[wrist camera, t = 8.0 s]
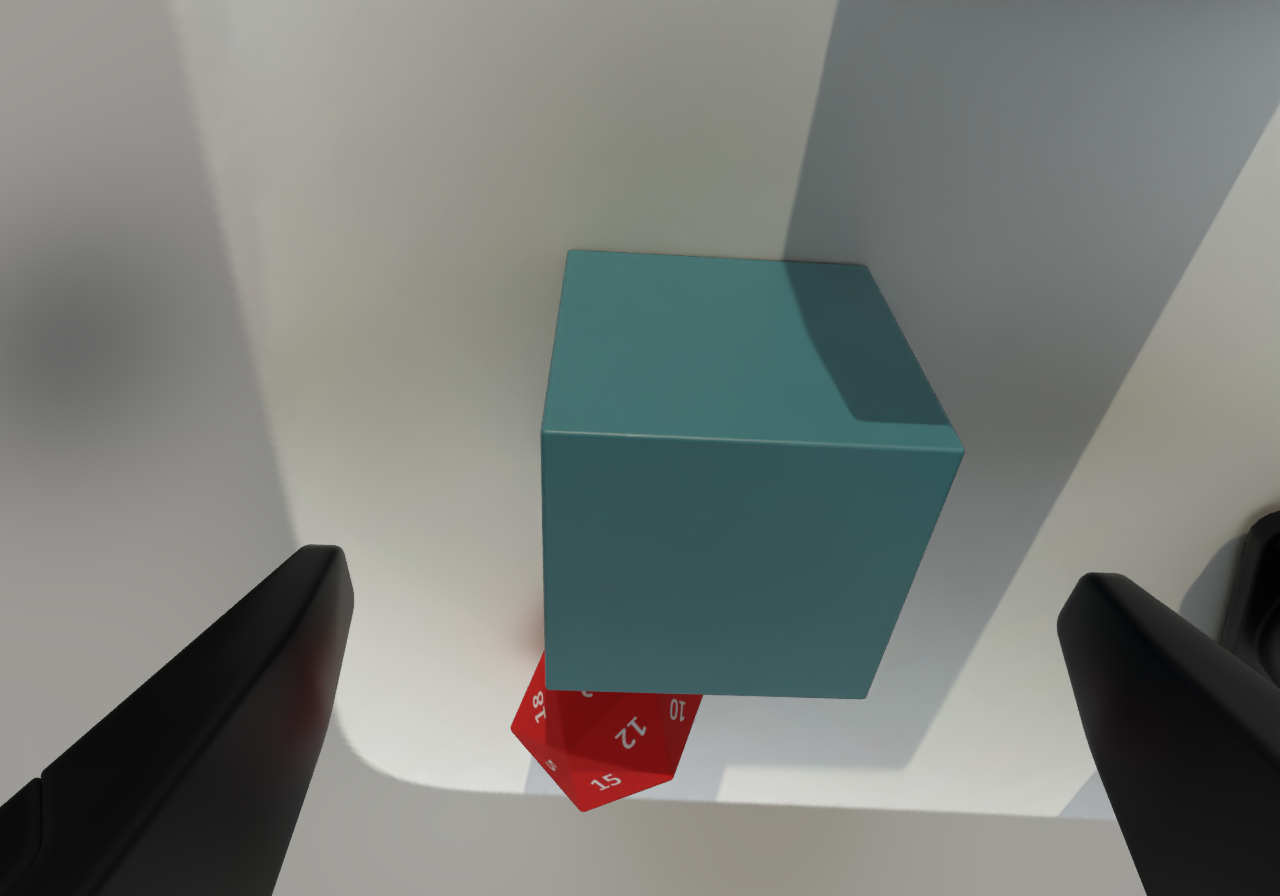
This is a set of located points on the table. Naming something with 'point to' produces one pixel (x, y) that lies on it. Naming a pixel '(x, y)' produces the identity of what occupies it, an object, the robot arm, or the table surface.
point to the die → (604, 738)
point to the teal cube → (732, 477)
